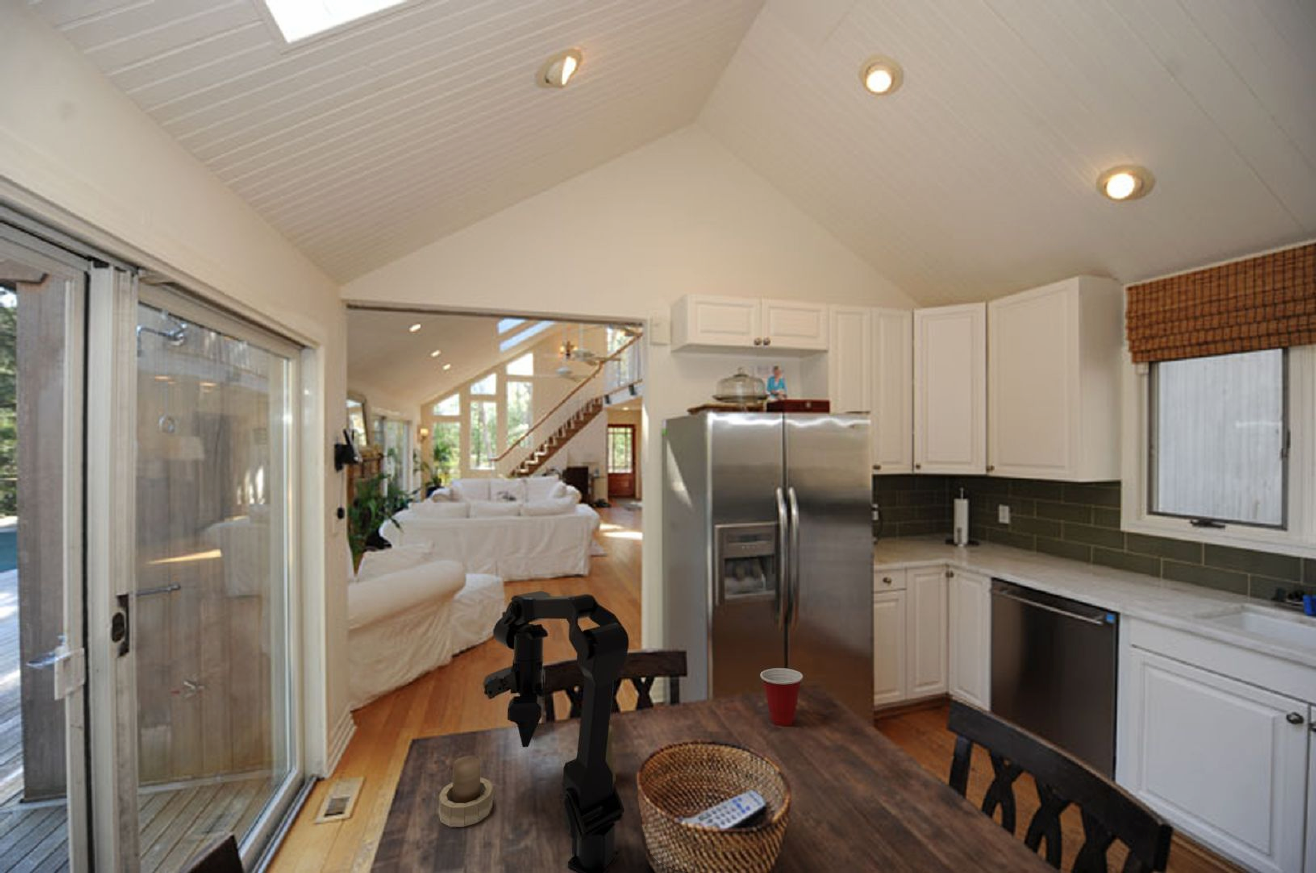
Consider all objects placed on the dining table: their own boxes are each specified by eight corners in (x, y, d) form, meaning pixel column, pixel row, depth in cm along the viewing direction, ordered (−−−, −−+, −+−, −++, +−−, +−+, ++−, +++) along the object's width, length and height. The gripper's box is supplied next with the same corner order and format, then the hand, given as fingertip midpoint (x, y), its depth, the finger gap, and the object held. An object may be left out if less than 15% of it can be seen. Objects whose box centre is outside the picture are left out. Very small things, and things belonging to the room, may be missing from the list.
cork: (611, 789, 112) (612, 734, 112) (583, 785, 113) (583, 731, 113) (619, 772, 118) (619, 720, 118) (592, 769, 119) (593, 717, 119)
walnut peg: (485, 807, 106) (486, 759, 106) (465, 822, 102) (466, 772, 102) (466, 799, 108) (467, 752, 109) (446, 813, 104) (447, 765, 104)
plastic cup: (777, 706, 149) (777, 662, 150) (811, 721, 141) (811, 674, 141) (751, 718, 142) (751, 671, 143) (785, 735, 134) (785, 685, 135)
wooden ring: (501, 803, 107) (502, 785, 107) (464, 833, 99) (464, 813, 99) (467, 789, 111) (467, 772, 111) (428, 816, 103) (428, 797, 103)
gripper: (492, 641, 118) (491, 715, 118) (479, 676, 100) (478, 764, 99) (545, 639, 120) (544, 711, 120) (542, 673, 102) (540, 758, 101)
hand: (527, 734), depth 110 cm, fingers open, 9 cm apart
